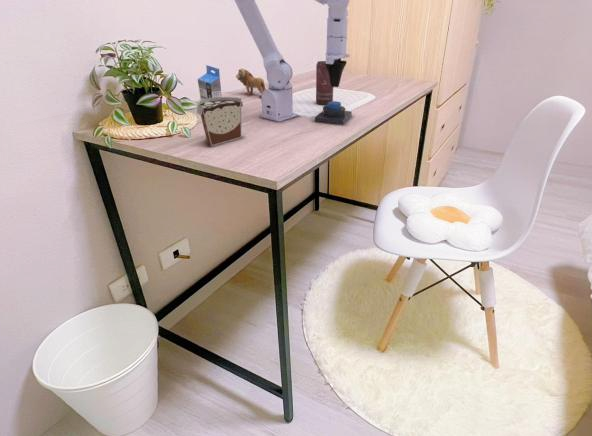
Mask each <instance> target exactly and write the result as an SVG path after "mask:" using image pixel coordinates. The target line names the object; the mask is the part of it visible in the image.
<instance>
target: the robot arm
mask: <svg viewBox="0 0 592 436" xmlns="http://www.w3.org/2000/svg"><path fill="white" fill-rule="evenodd" d="M314 1H315V2H317V3H319V4H321V5H322V6H325V5H327V7H328V10H327V13H328V14H327V18H326V49H325V50H326V52H325V60H324V61H325V65H326V67H327V70H328V73H329V78H330V84H331V87H333V88H339V86H340V83H341V80H342V75H343V71H344V69H345V68H346V65H347V60H342V59H345V58H350V57H351V54H350V53H347V42H348V41H347V40H348V25H349V23H348V22H349V21H348V20H349V19H348V15H349V11H348V6H349V3H350V0H314ZM234 2H235V4H236V6H237V8H238V11H239V12H240V14H241V16H242V19H243V21H244V23H245V25H246V26H247V29H248V31H249V33H250V35H251V37H252V39H253V41H254V43H255V45H256V47H257V50H258V51H259V53H260V56H261V58H262V61H263V62H262V63H263V67H264V69H265V72H266V80H267V83H268V85H267V89H266V90H264V92H263V93H262V94H261V96H260V100H261V101H260V102H261V115H260V118H264V119H267V120H270V121H275V122H283V121H287V120H290V119H293V118H296V117H299V113H295V112H294V107H293V106H294V105H293V103H294V102H293V84H292V83H291V79H292V78H293V74H294V73H293V68H292V66H291V65H290V63H288V62H287V61H286V60H285V58H284V56H283V54H281V52H280V51H279V49H278V47H277V45H276V43H275V41H274V39H273V37H272V34H271V33H270V30H269V28H268V26H267V24H266V21H265V20H264V17H263V14H262V13H261V11H260V9H259V6H258V4H257V3H256V0H234Z"/></svg>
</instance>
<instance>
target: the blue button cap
mask: <svg viewBox="0 0 592 436" xmlns="http://www.w3.org/2000/svg"><path fill="white" fill-rule="evenodd" d="M341 106H342V103H341V102H340V101H334V100H333V101H330V102H328V109H331V110H339V109H341Z"/></svg>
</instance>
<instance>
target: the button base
mask: <svg viewBox="0 0 592 436" xmlns="http://www.w3.org/2000/svg"><path fill="white" fill-rule="evenodd" d="M352 114H353V113H352V111H349V110H346V107H345V106H342V105H341V109H339V110H331V109H328V105H323V107H322V111H320V112H319V113H318V114H317V115H315V116H314V122H315V123H321V124H330V125H338V126H344V125H345V124H346V123H347V122H348V121H349V119H350V118H351V117H352Z"/></svg>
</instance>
